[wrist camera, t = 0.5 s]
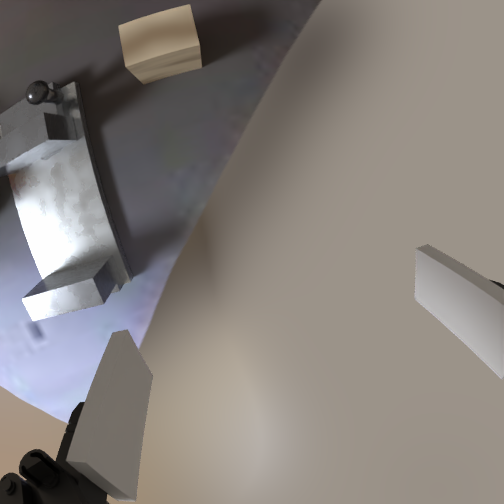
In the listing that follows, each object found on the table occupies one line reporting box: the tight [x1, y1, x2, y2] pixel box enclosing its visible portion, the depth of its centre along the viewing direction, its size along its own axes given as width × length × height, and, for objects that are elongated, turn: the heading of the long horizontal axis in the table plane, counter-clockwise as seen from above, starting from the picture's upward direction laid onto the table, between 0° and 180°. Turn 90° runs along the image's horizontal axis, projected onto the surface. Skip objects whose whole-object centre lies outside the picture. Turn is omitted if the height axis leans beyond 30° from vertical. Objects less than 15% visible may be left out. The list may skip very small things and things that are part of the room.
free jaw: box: [0, 80, 77, 177], centre depth 22 cm, size 8×12×8 cm
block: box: [119, 4, 202, 84], centre depth 24 cm, size 5×7×8 cm
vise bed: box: [0, 82, 133, 321], centre depth 27 cm, size 26×13×8 cm, turn 13°
